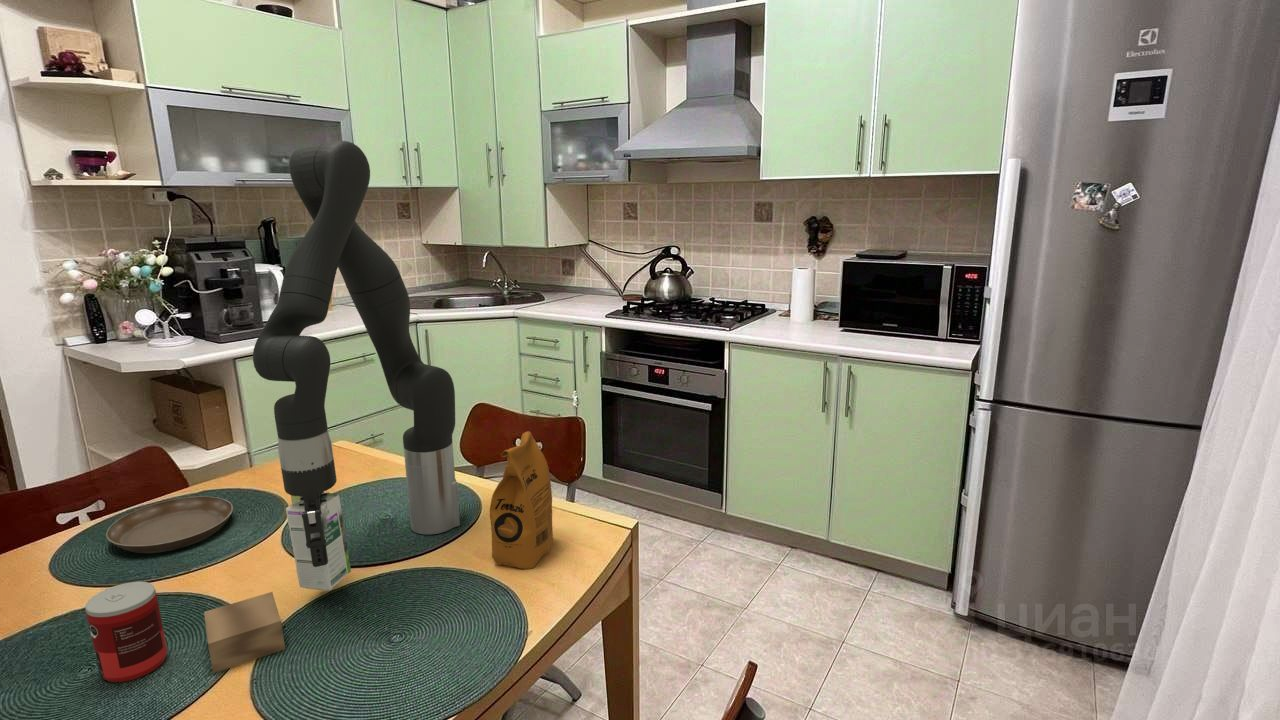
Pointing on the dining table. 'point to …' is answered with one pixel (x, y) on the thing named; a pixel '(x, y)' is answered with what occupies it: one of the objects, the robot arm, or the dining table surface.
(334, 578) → the syrup box
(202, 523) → the plant saucer
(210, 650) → the base block
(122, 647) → the canned food
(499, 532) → the coffee package
